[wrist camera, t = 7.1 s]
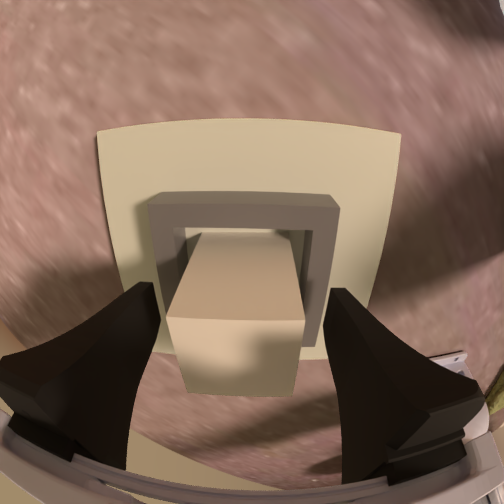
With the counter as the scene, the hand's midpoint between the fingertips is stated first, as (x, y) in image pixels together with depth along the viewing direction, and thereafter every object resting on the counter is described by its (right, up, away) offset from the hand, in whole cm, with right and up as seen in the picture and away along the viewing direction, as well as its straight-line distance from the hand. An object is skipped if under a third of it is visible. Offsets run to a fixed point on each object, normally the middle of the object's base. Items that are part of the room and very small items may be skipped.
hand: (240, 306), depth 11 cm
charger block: (0, +1, +3) cm, 3 cm away
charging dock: (0, +2, +3) cm, 4 cm away
